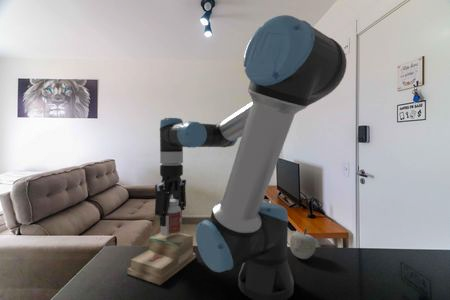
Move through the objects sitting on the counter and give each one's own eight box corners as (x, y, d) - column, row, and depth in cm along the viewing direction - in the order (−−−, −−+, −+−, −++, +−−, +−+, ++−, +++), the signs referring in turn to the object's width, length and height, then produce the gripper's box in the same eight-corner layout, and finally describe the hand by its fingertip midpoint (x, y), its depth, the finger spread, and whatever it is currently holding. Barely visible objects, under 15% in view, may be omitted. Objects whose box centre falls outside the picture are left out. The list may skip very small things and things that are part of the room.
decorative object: (287, 260, 81) (287, 231, 80) (292, 250, 89) (292, 223, 88) (314, 266, 77) (315, 235, 77) (317, 254, 85) (317, 227, 84)
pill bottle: (184, 233, 79) (183, 200, 79) (166, 237, 76) (166, 203, 76) (176, 228, 84) (176, 197, 84) (160, 231, 81) (159, 199, 81)
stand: (195, 257, 82) (195, 234, 82) (160, 285, 66) (160, 256, 66) (166, 250, 88) (166, 228, 88) (127, 273, 72) (126, 247, 71)
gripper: (179, 161, 90) (179, 221, 91) (141, 165, 73) (142, 239, 73) (196, 162, 87) (196, 224, 87) (160, 167, 69) (160, 244, 70)
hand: (171, 231), depth 80 cm, fingers closed on pill bottle, 6 cm apart
